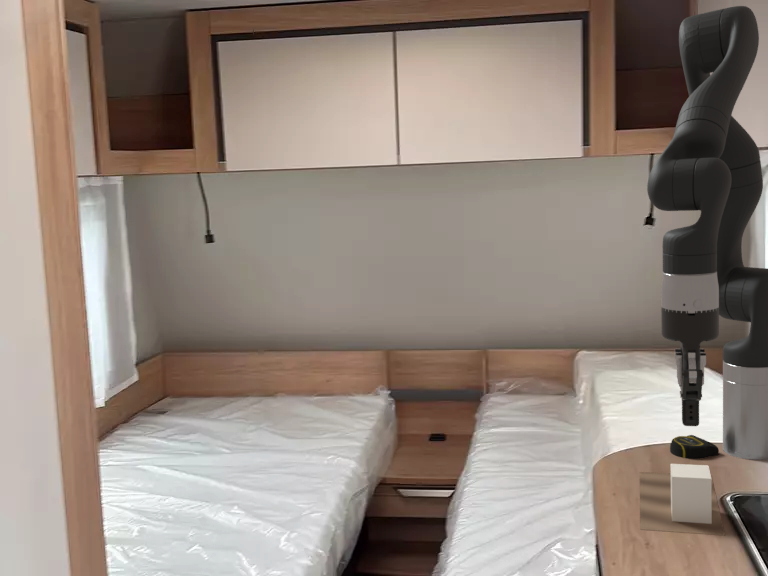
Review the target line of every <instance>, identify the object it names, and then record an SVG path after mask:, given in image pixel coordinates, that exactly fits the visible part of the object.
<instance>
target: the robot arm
mask: <svg viewBox="0 0 768 576" xmlns="http://www.w3.org/2000/svg"><path fill="white" fill-rule="evenodd" d="M759 42H760V33H759V26H758V21H757V17H756V15H755V13H754V12H753V10H752V9H751V8H750V7H748V6H746V5H736V6H735V5H734V6H729V7H725V8H721V9H716V10H712V11H708V12H704V13H699V14H695V15H690V16H687V17H686V18H684V19H683V20H682V22H681V23H680V25H679V31H678V46H679V48H678V49H679V54H680V60H681V63H682V68H683V74H684V75H683V76H684V78H685V85H686V87H687V88H686V89H687V92H688V93H687V94H688V97H687V99H686V101H684V103H683V105H682V107H681V109H680V111H679V114H678V116H677V117H678V118H677V121H676V125H675V130H674V132H673V137H672V139H671V140H670V141H669V143H668V144H667V146H666V147H665V149H664V150H663V151H662V153H661V154H660V155H659V156H658V158H657V159H656V161H655V163H654V165H653V166H652V168H651V169H650V173H649V175H648V179H647V185H646V186H647V188H646V190H647V196H648V199H649V200H650V202H651V204H652V205H653V206H654V207H655V208H657V209H658V210H660V211H665V212H680V211H682V212H683V211H685V212H687V211H693V212H694V211H700V215H699V218H698V220H697V221H696V222H695V223H694V224H691V225H688V226H682V227H678V228H674V229H670V230H668V231H667V232H665V233H664V235H663V237H662V280H661V285H660V289H661V290H660V298H661V299H660V300H661V301H660V303H661V305H660V306H661V307H660V308H661V309H660V311H661V313H660V314H661V315H660V316H661V318H660V319H661V321H660V322H661V324H660V325H661V335H662V337H663V338H664V339H666V340H669V341H673V342H679V343H680V346H679V348H674V360H675V364H676V378H677V384H678V387H679V389H680V390H679V395H680V398H681V422H682V425H683V426H684V427H697V426H699V425H700V401H701V400H702V398H703V389H702V388H703V386H704V384H705V367H706V365H707V353H706V352H705V348H701V343H703V342H711V341H714V340H716V339H717V338H718V337H719V336H720V335H719V334H720V317H722V318H723V319H727V320H731V321H737V322H738V321H739V322H743V323H744V322H746V323H750V328H749V332H748V333H749V334H748V335H747V336H746V337H743V338H739V339H735V340H731V341H728V342H726V343H725V344H724V345H723V347H722V450H723V452H725V454H727V455H729V456H731V457H735V458H738V459H743V460H751V461H753V460H754V461H765V460H768V268H767V267H766V268H765V267H764V268H762V267H751V266H750V267H749V266H744V261H743V256H742V255H743V252H742V246H743V244H742V242H743V241H742V240H743V236H744V233H745V230H746V228H747V226H748V223H749V222H750V220H751V217H752V216H753V215H754V213H755V210H756V208H757V206H758V204H759V202H760V201H761V197H762V193H763V190H764V179H763V171H762V163H761V161H762V160H761V155H760V150H759V148H758V145H757V143H756V142H755V140H754V139H753V137H752V136H751V135H750V134H749V133H748V132H747V130H746V129H745V128H744V126H742V125H741V123H740V122H738V120H736V118H734V116H733V112H734V108H735V105H736V103H737V100H738V98H739V96H740V94H741V92H742V90H743V88H744V86H745V84H746V81H747V80H748V77H749V74H750V72H751V70H752V68H753V66H754V63H755V60H756V59H757V54H758V49H759V44H760V43H759Z"/></svg>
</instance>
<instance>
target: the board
mask: <svg viewBox="0 0 768 576" xmlns="http://www.w3.org/2000/svg"><path fill="white" fill-rule="evenodd" d="M711 503H712V524H707V523H692V522H677V521H672V513H671V472H669V473H668V472H651V471H650V472H649V471H648V472H647V471H646V472H645V471H640V472H639V525H640V526H639V527H640V528H639V530H641V531H653V532H667V533H684V534H697V535H710V536H711V535H713V536H726V533H725V530H724V524H723V520H722V516H721V511H720V508H719V507H720V506H719V504H718V499H717V495H716V491H715V486H714V483H713V477H712V476H711Z"/></svg>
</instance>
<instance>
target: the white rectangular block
mask: <svg viewBox="0 0 768 576" xmlns="http://www.w3.org/2000/svg"><path fill="white" fill-rule="evenodd" d="M670 473H671V513H672V521H677V522H692V523H707V524H712V503H711V477H712V475H711V471H710V467H709V465H706V464H705V465H704V464H688V463H687V464H684V463H683V464H682V463H670Z"/></svg>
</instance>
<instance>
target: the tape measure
mask: <svg viewBox="0 0 768 576" xmlns="http://www.w3.org/2000/svg"><path fill="white" fill-rule="evenodd" d="M669 446H670V447H669V452H670V453H671V454H672V455H674V456H676V457H679V458H682V459H690V460H698V459H699V460H700V459H701V460H703V459H707V458H710V457H716V456H717V457H718V456H719V454H720V451H719V447H718V446H717V445H715V444H714V443H712V442H710V441H708V440H705V439H703V438H701V437H698V436H696V435H693V434H689V435H681V436H680V435H678V436H676V437H674V438H672V439H671V442H670V445H669Z"/></svg>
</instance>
